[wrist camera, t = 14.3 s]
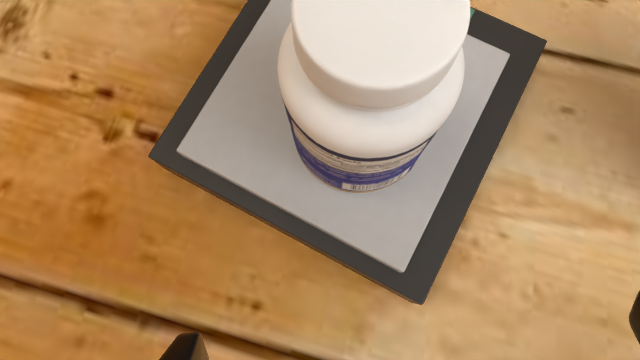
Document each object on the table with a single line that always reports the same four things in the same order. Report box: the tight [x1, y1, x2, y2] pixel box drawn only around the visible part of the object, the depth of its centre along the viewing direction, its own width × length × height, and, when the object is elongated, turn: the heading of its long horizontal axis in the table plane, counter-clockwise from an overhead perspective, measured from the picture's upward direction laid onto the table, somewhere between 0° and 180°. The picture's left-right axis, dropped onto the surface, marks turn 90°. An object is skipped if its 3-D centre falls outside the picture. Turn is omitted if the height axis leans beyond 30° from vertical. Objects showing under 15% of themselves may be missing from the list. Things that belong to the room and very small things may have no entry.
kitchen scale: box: [148, 0, 547, 305], centre depth 20 cm, size 13×13×3 cm
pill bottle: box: [277, 0, 470, 194], centre depth 14 cm, size 5×5×9 cm
